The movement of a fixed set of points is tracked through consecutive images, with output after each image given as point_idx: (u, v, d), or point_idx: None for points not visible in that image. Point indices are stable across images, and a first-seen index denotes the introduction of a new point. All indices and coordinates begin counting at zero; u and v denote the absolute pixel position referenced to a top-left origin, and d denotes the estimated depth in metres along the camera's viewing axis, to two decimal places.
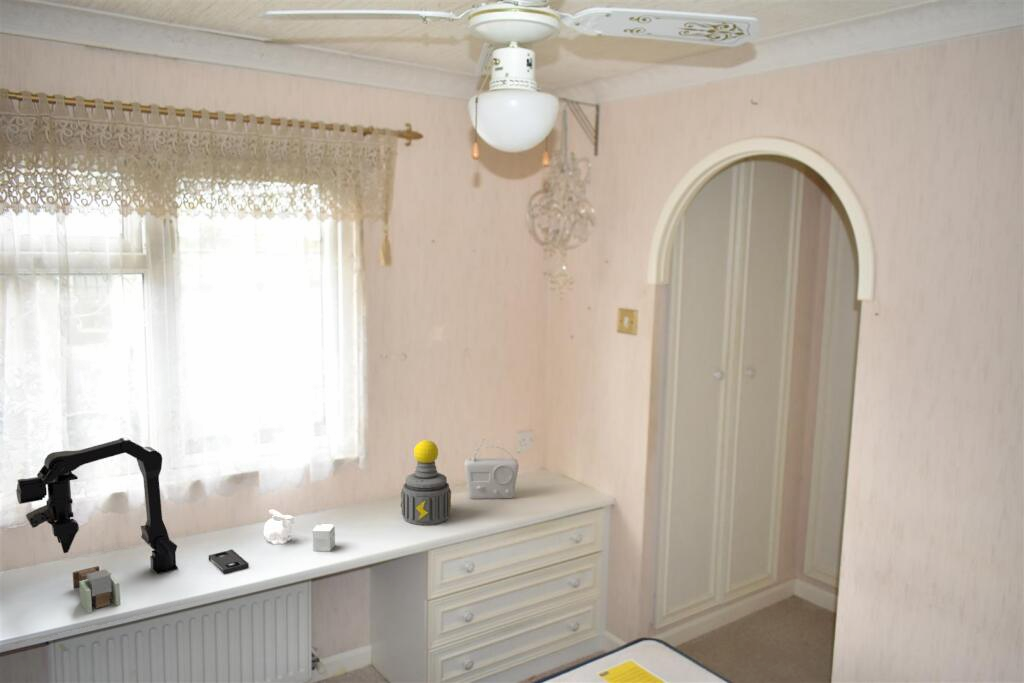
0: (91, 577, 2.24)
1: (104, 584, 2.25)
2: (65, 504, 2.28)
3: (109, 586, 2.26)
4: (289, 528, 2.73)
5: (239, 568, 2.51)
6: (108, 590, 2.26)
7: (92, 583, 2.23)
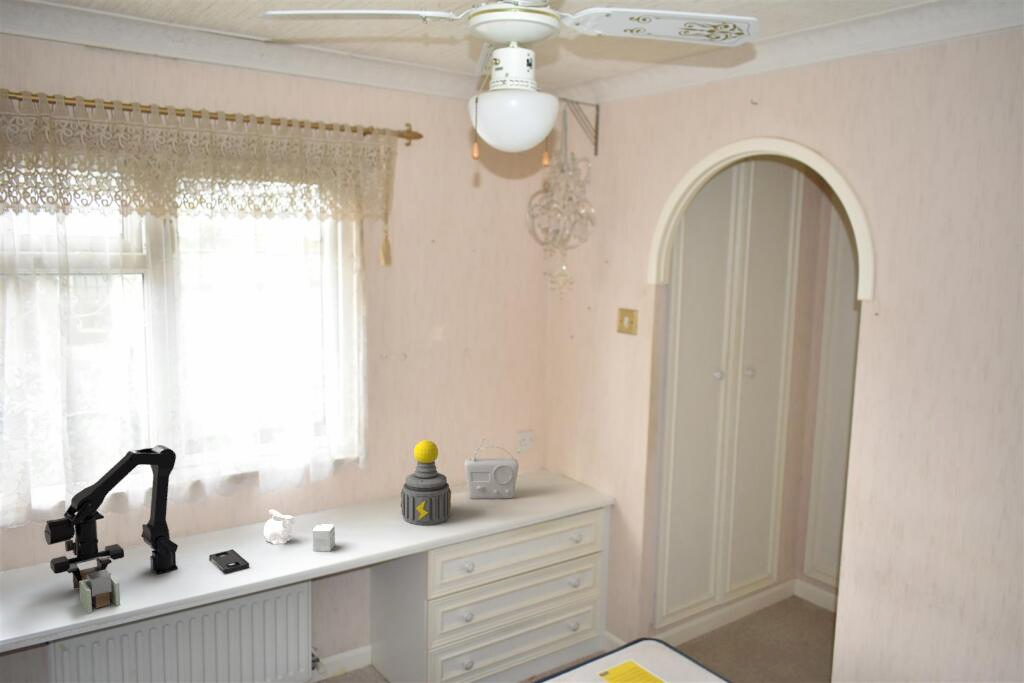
0: (91, 577, 2.24)
1: (104, 584, 2.25)
2: (77, 545, 2.31)
3: (109, 586, 2.26)
4: (289, 528, 2.73)
5: (239, 568, 2.51)
6: (108, 590, 2.26)
7: (92, 583, 2.23)
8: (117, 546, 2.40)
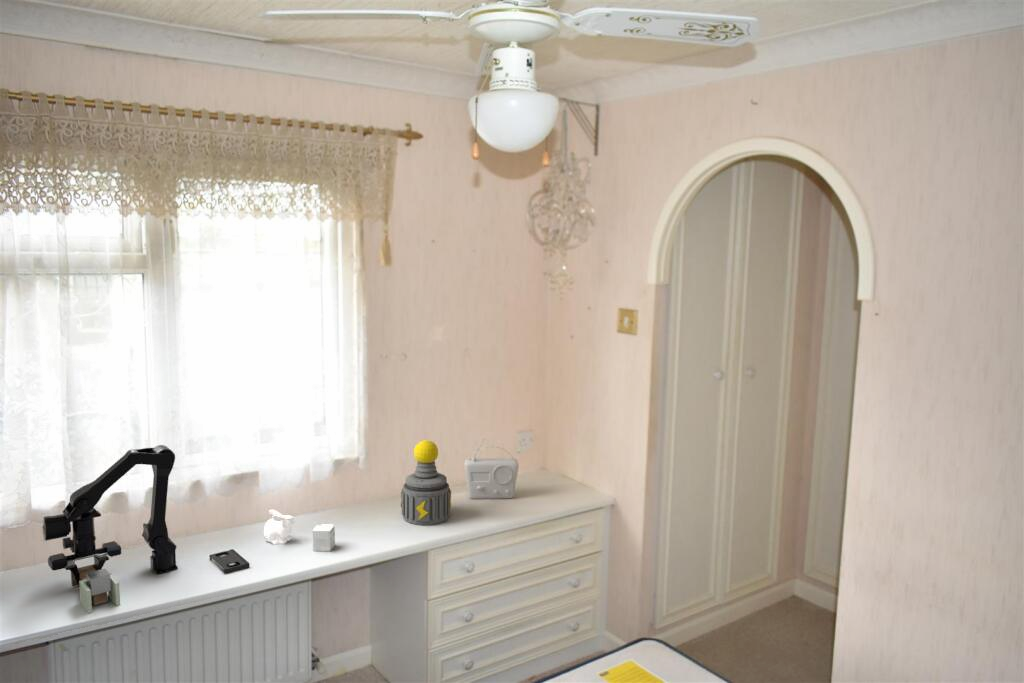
0: (90, 576, 2.25)
1: (103, 583, 2.26)
2: (75, 542, 2.33)
3: (108, 585, 2.27)
4: (289, 528, 2.73)
5: (240, 568, 2.51)
6: (107, 589, 2.27)
7: (91, 582, 2.24)
8: (114, 543, 2.42)
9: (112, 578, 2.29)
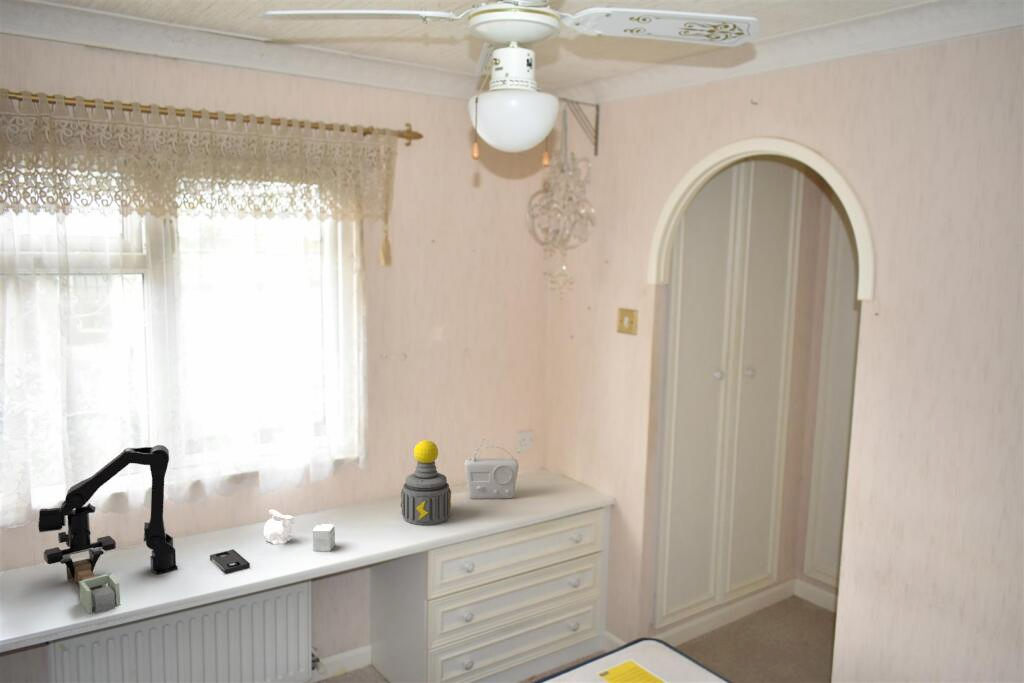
0: (97, 607, 2.22)
1: None
2: (70, 536, 2.38)
3: None
4: (289, 528, 2.73)
5: (240, 568, 2.51)
6: None
7: None
8: (109, 538, 2.46)
9: (112, 578, 2.29)
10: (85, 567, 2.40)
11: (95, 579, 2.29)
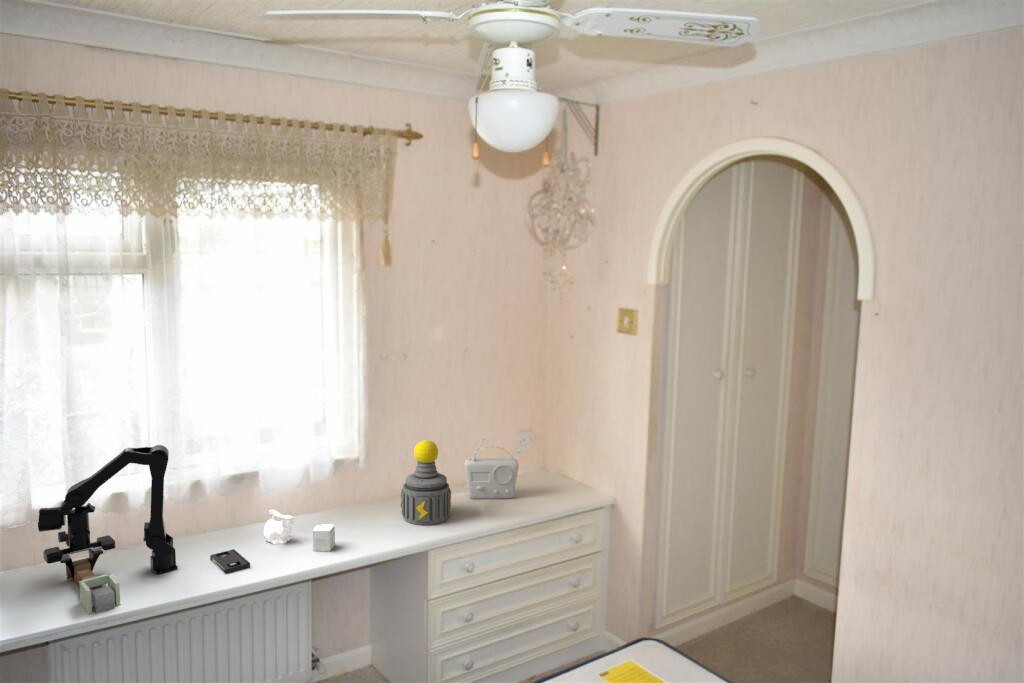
0: (97, 607, 2.22)
1: None
2: (70, 536, 2.38)
3: None
4: (289, 528, 2.73)
5: (241, 568, 2.51)
6: None
7: None
8: (109, 537, 2.46)
9: (112, 578, 2.29)
10: (84, 566, 2.41)
11: (95, 579, 2.29)
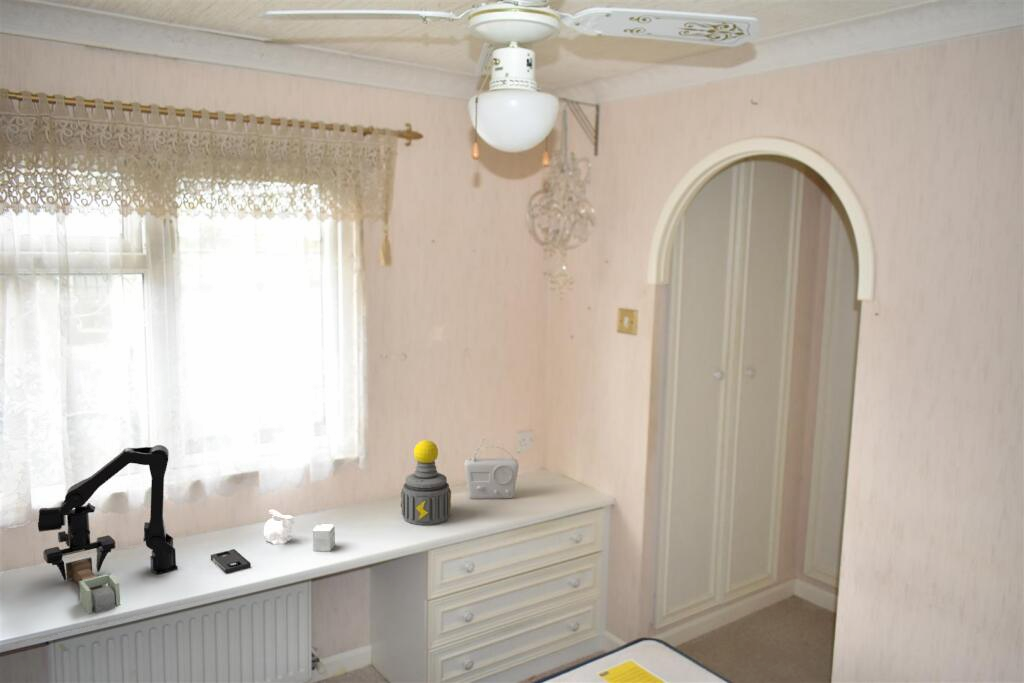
0: (97, 607, 2.22)
1: None
2: (70, 536, 2.38)
3: None
4: (289, 528, 2.73)
5: (241, 568, 2.52)
6: None
7: None
8: (109, 537, 2.46)
9: (112, 578, 2.29)
10: (84, 566, 2.41)
11: (95, 579, 2.29)
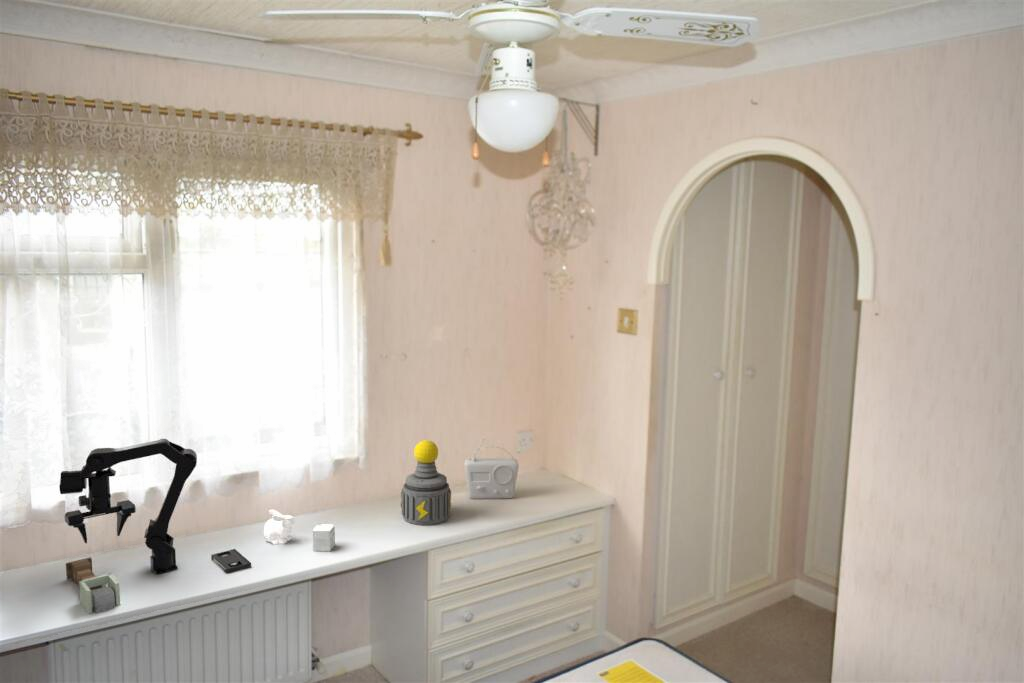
0: (97, 607, 2.22)
1: None
2: (91, 499, 2.39)
3: None
4: (289, 528, 2.73)
5: (241, 568, 2.52)
6: None
7: None
8: (129, 502, 2.48)
9: (112, 578, 2.29)
10: (84, 566, 2.41)
11: (95, 579, 2.29)
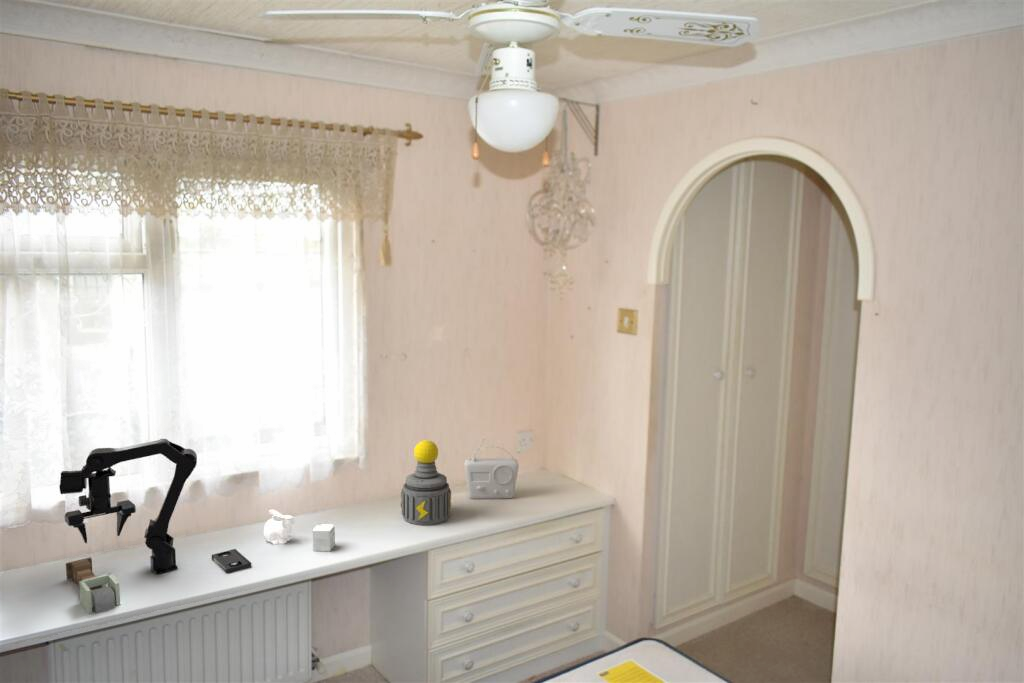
0: (97, 607, 2.22)
1: None
2: (91, 499, 2.39)
3: None
4: (289, 528, 2.73)
5: (242, 567, 2.52)
6: None
7: None
8: (129, 502, 2.48)
9: (112, 578, 2.29)
10: (84, 566, 2.41)
11: (95, 579, 2.29)
